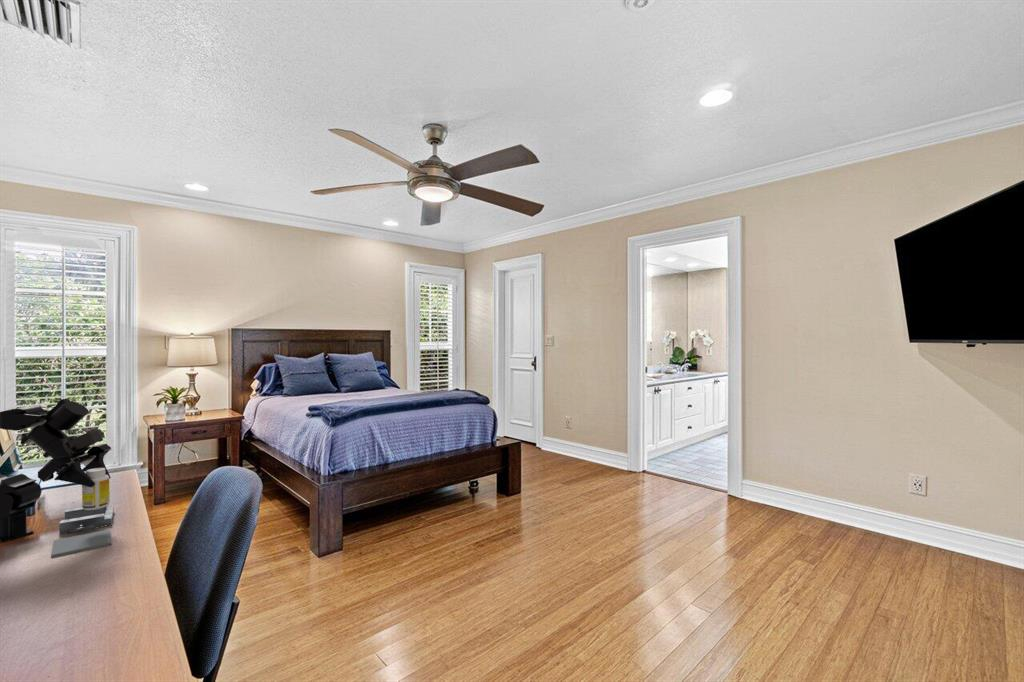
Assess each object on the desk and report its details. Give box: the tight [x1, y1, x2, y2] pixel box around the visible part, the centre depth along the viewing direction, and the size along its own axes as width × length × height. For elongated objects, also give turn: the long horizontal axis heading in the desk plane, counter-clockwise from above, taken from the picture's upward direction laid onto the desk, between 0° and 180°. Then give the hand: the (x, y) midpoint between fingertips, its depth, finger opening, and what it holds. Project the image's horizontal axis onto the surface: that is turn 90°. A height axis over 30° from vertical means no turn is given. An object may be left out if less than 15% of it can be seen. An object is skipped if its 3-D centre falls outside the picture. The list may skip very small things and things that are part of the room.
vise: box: [58, 505, 115, 535], centre depth 134 cm, size 17×11×3 cm, turn 37°
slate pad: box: [50, 529, 112, 558], centre depth 122 cm, size 11×11×1 cm
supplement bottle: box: [81, 468, 111, 510], centre depth 129 cm, size 6×6×10 cm
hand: (101, 482), depth 129 cm, fingers closed on supplement bottle, 6 cm apart
